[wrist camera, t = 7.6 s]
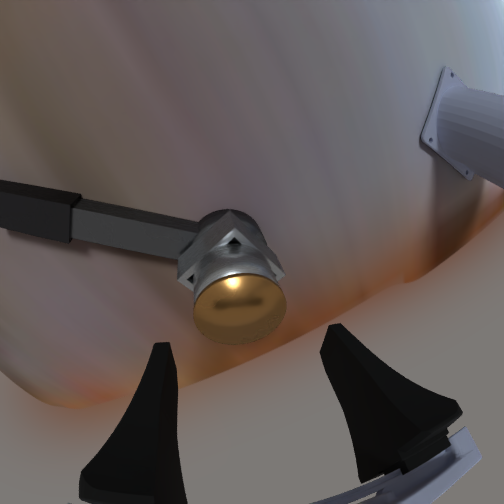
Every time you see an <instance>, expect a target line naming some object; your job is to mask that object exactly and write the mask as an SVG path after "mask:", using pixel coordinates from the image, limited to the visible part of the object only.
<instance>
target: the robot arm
mask: <svg viewBox="0 0 504 504" xmlns="http://www.w3.org/2000/svg"><path fill="white" fill-rule="evenodd" d="M429 139H430V141H429ZM421 140H422V141H423V142H424V143H425V144H426V145H427V146H429V147H430V148H431V149H433V150H434V151H435V152H436V153H437V154H439V155H440V156H441V157H442V158H444V159H445V160H446V161H447V162H448V163H449V164H451V165H452V166H453V167H454V168H455V169H456V170H457V171H458V172H460V173H461V174H462V175H463V176H464V177H465V178H466V179H467V180H469V181H471V180H472V178H473V176H474V173H475V174H477V175H479V176H481V177H483V178H484V179H486V180H488V181H490V182H492V183H494V184H496V185H497V186H499V187H501V188H503V189H504V96H502V95H499V94H495V93H490V92H486V91H482V90H477V89H472V88H468V87H467V86H466V85H465V84H464V83H463V81H462V80H461V79H460V78H459V77H458V76H457V75H456V74H455V73H454V72H453V70H452V69H451V68H450V67H446V66H445V67H444V68H443V71H442V74H441V78H440V81H439V84H438V88H437V91H436V94H435V97H434V100H433V103H432V106H431V109H430V112H429V115H428V118H427V121H426V123H425V126H424V129H423V132H422V134H421ZM320 355H321V359H322V362H323V365H324V368H325V371H326V374H327V375H328V378H329V380H330V383H331V385H332V387H333V389H334V391H335V394H336V396H337V398H338V400H339V402H340V404H341V407H342V409H343V412H344V415H345V418H346V421H347V424H348V428H349V431H350V435H351V439H352V443H353V447H354V452H355V457H356V463H357V468H358V477H359V480H360V482H361V483H364V482H367V481H369V480H371V479H373V478H376V477H378V476H380V475H383V474H384V475H385V476H383V477H381V478H379V479H377V480H374V481H372V482H370V483H367V484H365V485H363V486H360V487H357V488H355V489H353V490H350V491H347V492H344V493H342V494H339V495H336V496H333V497H330V498H327V499H324V500H320V501H317V502H313V503H310V504H348V503H351V502H353V501H356V500H358V499H361V498H363V497H365V496H368V495H370V494H372V493H375V492H377V493H376V496H375V497H373V498H370V499H368V500H365V501H363V502H360V503H358V504H431V503H432V502H433V501H435V500H436V499H437V498H438V497H439V496H441V495H442V494H443V493H444V492H445V491H447V490H448V489H449V488H450V487H451V486H452V485H453V484H454V483H456V482H457V481H458V480H459V479H460V478H461V477H462V476H463V475H464V474H465V473H466V472H468V471H469V470H470V469H471V468H472V467H473V466H474V465H475V464H476V463H478V462H479V461H480V460H481V459H482V456H481V454H480V452H479V450H478V448H477V446H476V444H475V442H474V440H473V439H472V437H471V435H470V433H469V431H468V429H467V427H466V426H464V427H463V428H462V429H461V430H459V431H458V432H456V433H455V434H454V435H452V436H451V437H449V438H447V436H446V435H447V434H448V433H449V432H448V430H447V427H449V426H450V425H451V424H452V423H453V422H455V421H456V420H457V419H458V418H459V417H460V416H461V415H462V413H463V412H462V410H461V408H460V407H459V405H458V403H457V402H456V400H454V399H450V398H447V397H445V396H441V395H439V394H437V393H434V392H432V391H430V390H427V389H425V388H423V387H421V386H419V385H417V384H416V383H414V382H412V381H410V380H409V379H407V378H405V377H404V376H402V375H401V374H399V373H398V372H396V371H395V370H393V369H392V368H391V367H389V366H388V365H387V364H386V363H384V362H383V361H382V360H380V359H379V358H378V357H377V356H376V355H374V354H373V353H372V352H371V351H370V350H369V349H367V348H366V347H365V346H364V345H363V344H362V343H361V342H360V341H359V340H358V339H357V338H356V337H355V336H354V335H352V334H351V333H350V332H349V331H348V330H347V329H346V328H345V327H344V326H343V325H342V324H341V323H339V324H333V325H329V326H328V329H327V333H326V335H325V338H324V341H323V344H322V347H321V350H320ZM177 404H178V382H177V368H176V365H175V361H174V358H173V354H172V350H171V346H170V342H160V343H155V344H154V345H153V349H152V352H151V355H150V358H149V361H148V364H147V366H146V369H145V372H144V374H143V376H142V379H141V381H140V384H139V386H138V388H137V390H136V392H135V394H134V396H133V398H132V401H131V403H130V405H129V407H128V408H127V410H126V412H125V414H124V415H123V417H122V419H121V421H120V422H119V424H118V425H117V427H116V428H115V430H114V432H113V433H112V434H111V436H110V437H109V439H108V440H107V442H106V443H105V444H104V445H103V447H102V448H101V449H100V451H99V452H98V453H97V454H96V456H95V457H94V458H93V459H92V460H91V461H90V462H89V463H88V464H87V465H86V467H85V468H84V469H83V470H82V471H81V475H80V480H79V498H80V499H81V500H82V501H85V502H88V503H91V504H187V499H186V494H185V489H184V483H183V479H182V472H181V466H180V458H179V450H178V441H177V407H178V405H177ZM67 504H70V503H67Z"/></svg>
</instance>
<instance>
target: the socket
mask: <svg viewBox="0 0 504 504" xmlns="http://www.w3.org/2000/svg"><path fill="white" fill-rule="evenodd" d="M234 237H235V238H236V239H237V240H238V241H239V242H240V243H241V244H236V243H234V244H227V243H228V242H229V241H231V240H232V239H233V238H234ZM285 275H286V274H285V272H284V270H283V268H282V266H281V264H280V262H279V260H278V258H277V256H276V254H275V253H274V252H273V251H272V250H271V249H270V248H269V247H268V246H267V245H266V244H265V243H264V242H263V241H262V240H260V239H259V238H258V237H257V236H256V235H255V234H254V233H253V232H252V231H251V230H250V229H249V228H248V227H247V226H246V225H245V224H244V223H243V222H242V221H241V220H240V219H239V218H237V217H236V216H235V215H234V214H233V213H232V212H231V211H230V210H229V211H228V212H227V213H226V214H225V215H224V216H222V217H221V218H220V219H219V220H218V221H217V222H216V223H215V224H214V225H213V226H212V227H210V228H209V229H208V230H207V231H206V232H205V233H204V234H203V235H202V236H201V237H200V238H199V239H198V240H197V241H196V242H194V243H193V244H192V245H191V246H190V247H189V248H188V249H187V250H186V251H185V252H184V253H183V254H182V255H181V256H180V257H179V258H178V271H177V281H179V282H180V283H182V284H183V285H184V286H186V287H187V288H189V289H190V290H191V291H193V292H194V308H193V315H194V322H195V324H196V327H197V328H198V330H199V331H200V332H201V333H202V334H203V335H204V336H206V337H207V338H209V339H211V340H213V341H215V342H218V343H222V344H231V345H236V344H245V343H250V342H253V341H256V340H259V339H261V338H263V337H265V336H266V335H268V334H270V333H271V332H272V331H273V330H274V329H275V328H277V326H278V325H279V324H280V323H281V321H282V320H283V318H284V315H285V312H286V299H285V296H284V294H283V292H282V290H281V288H280V287H279V285H278V281H279V280H280V279H281V278H283V277H284V276H285Z"/></svg>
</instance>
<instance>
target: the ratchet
mask: <svg viewBox="0 0 504 504" xmlns="http://www.w3.org/2000/svg"><path fill="white" fill-rule="evenodd" d="M229 210H230V211H231V212H232V213H233V214H234V215H235V216H236V217H237V218H239V219H240V220H241V221H242V222H243V223H244V224H245V225H246V226H247V227H248V228H249V229H250V230H251V231H252V232H253V233H254V234H255V235H256V236H257V237H258V238H259V239H260V240H262V241H263V242H264V243H265V244H266V245H267V243H266V241H265V239H264V237H263V234H262V232H261V230H260V228H259V226H258V224H257V223H256V222H255V220H254V219H253V218H252V217H250V216H249V215H247V214H246V213H244V212H241V211H238V210H233V209H224V210H218V211H215V212H212V213H210V214H208V215H206V216H205V217H203V218H202V219H201V220H200V221H199V222H195V221H190V220H185V219H181V218H176V217H171V216H167V215H162V214H157V213H152V212H147V211H143V210H138V209H133V208H128V207H123V206H118V205H113V204H108V203H103V202H98V201H93V200H88V199H82V198H81V194H78V193H72V192H67V191H62V190H56V189H51V188H45V187H40V186H34V185H28V184H22V183H16V182H11V181H4V180H0V227H1V228H5V229H9V230H13V231H17V232H21V233H25V234H29V235H34V236H38V237H42V238H46V239H51V240H55V241H59V242H64V243H68V244H69V243H70V242H71V240H72V239H73V238H74V239H79V240H84V241H88V242H93V243H98V244H102V245H107V246H112V247H117V248H122V249H126V250H131V251H136V252H141V253H146V254H151V255H156V256H161V257H166V258H171V259H177V260H178V258H179V257H180V256H181V255H182V254H183V253H184V252H185V251H186V250H187V249H188V248H189V247H190V246H191V245H192V244H193V243H194V242H196V241H197V240H198V239H199V238H200V237H201V236H202V235H203V234H204V233H205V232H206V231H207V230H208V229H209V228H210V227H212V226H213V225H214V224H215V223H216V222H217V221H218V220H219V219H220V218H221V217H222V216H224V215H225V214H226V213H227V212H228V211H229ZM234 243H236V244H241V243H240V242H239V241H238V240H237V239H236V238H235V237H234V238H233V239H232V240H231V241H229V242H228V243H227V244H234Z"/></svg>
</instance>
